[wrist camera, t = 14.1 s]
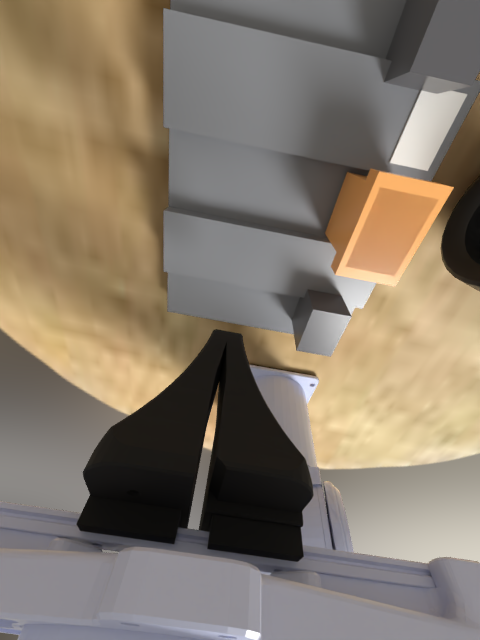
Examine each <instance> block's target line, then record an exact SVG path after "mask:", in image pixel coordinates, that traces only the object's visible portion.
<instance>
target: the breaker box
mask: <svg viewBox="0 0 480 640" xmlns="http://www.w3.org/2000/svg"><path fill="white" fill-rule="evenodd" d="M479 71H480V0H171V4H170V9H165V8H163V127H165V128H169V207H167V208H166V209H165V210H164V272H168V309H167V311H168V312H173V313H179V314H184V315H190V316H195V317H201V318H206V319H212V320H217V321H223V322H228V323H234V324H239V325H245V326H251V327H256V328H262V329H267V330H273V331H278V332H284V333H289V334H294V338H295V344H296V351H302V352H307V353H313V354H319V355H324V356H330V357H331V355H332V353H333V351H334V350H335V348H336V346H337V344H338V342H339V340H340V338H341V336H342V334H343V332H344V330H345V328H346V327H347V325H348V323H349V321H350V319H351V317H352V316H351V314H352V312H353V310H354V309H355V308H360V309H363V307H364V305H365V303H366V301H367V299H368V298H369V296H370V294H371V292H372V290H373V288H374V286H375V285H376V283H375V282H369V281H364V280H359V279H354V278H349V277H343V276H338V275H335V274H334V272H333V270H332V268H331V264H332V262H333V260H334V257H335V255H336V250H335V249H334V247H333V246H332V244H331V242H330V241H329V239H328V238H327V236H326V234H325V232H326V229H327V226H328V223H329V220H330V218H331V215H332V212H333V209H334V207H335V204H336V201H337V198H338V196H339V193H340V190H341V187H342V185H343V182H344V179H345V176H346V174H347V172H350V173H354V174H359V175H364V176H368V173H369V171H370V169H375V170H379V171H384V172H389V173H394V174H398V175H403V176H408V177H413V178H417V179H422V180H427V181H432V179H433V177H434V175H435V173H436V172H437V170H438V168H439V166H440V164H441V162H442V160H443V159H444V157H445V155H446V153H447V151H448V149H449V147H450V146H451V144H452V142H453V140H454V138H455V136H456V135H457V133H458V131H459V129H460V127H461V125H462V123H463V122H464V120H465V118H466V116H467V114H468V112H469V110H470V109H471V107H472V105H473V103H474V101H475V99H476V97H477V96H478V94H479V92H480V81H478V80H475V79H476V77H477V75H478V73H479Z"/></svg>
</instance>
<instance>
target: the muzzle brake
mask: <svg viewBox="0 0 480 640" xmlns="http://www.w3.org/2000/svg"><path fill="white" fill-rule="evenodd" d="M441 254H442V260H443V262H444V265H445V267H446V269H447V270H448V271H449V272H450V273H451V274H452V275H453V276H454V277H455V278H457V279H459V280H461V281H462V282H464V283H466V284H467V285H469V286H471V287H473V288H474V289H476V290H478V291H480V176H479V177H478V178H477V179H476V180H475V182H474V183H473V184H472V185H471V186H470V187H469V188H468V189H467V190H466V191H465V194H464V195H463V197H462V198H461V200H460V201H459V203H458V204H457V205H456V207H455V208H454V210H453V212H452V214H451V216H450V218H449V220H448V222H447V224H446V227H445V230H444V233H443V236H442V243H441Z"/></svg>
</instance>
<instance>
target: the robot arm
mask: <svg viewBox="0 0 480 640" xmlns="http://www.w3.org/2000/svg"><path fill="white" fill-rule="evenodd" d="M312 383H313V384H312ZM318 383H319V379H318V377H316V376H312V375H306V374H300V373H295V372H289V371H283V370H277V369H272V368H266V367H260V366H254V365H249V362H248V359H247V356H246V352H245V348H244V344H243V336H242V335H241V334H239V333H233V332H228V331H222V330H214V331H213V332H212V335H211V336H210V338H209V340H208V342H207V343H206V345H205V346H204V348H203V349H202V350H201V352H200V353H199V354H198V356H197V357H196V358H195V359H194V360H193V362H192V363H191V364H190V365H189V366H188V367H187V369H186V370H185V371H184V372H183V373H182V374H181V375H180V376H179V377H178V378H177V379H176V380H175V381H174V382H173V383H172V384H170V385H169V386H168V387H167V388H166V389H165V390H164V391H162V392H161V393H160V394H159V395H158V396H156V397H155V398H154V399H152V400H151V401H150V402H148V403H147V404H146V405H144V406H143V407H141V408H140V409H139V410H137V411H136V412H134V413H133V414H131V415H130V416H128V417H126V418H125V419H123V420H122V421H120V422H119V423H117V424H115V425H114V426H112V427H111V428H110V429H109V430H108V432H107V433H106V434H105V435H104V437H103V438H102V440H101V441H100V442H99V444H98V445H97V447H96V448H95V450H94V452H93V454H92V455H91V457H90V459H89V461H88V463H87V465H86V467H85V469H84V471H83V477H84V480H85V482H86V485H87V487H88V490H89V492H90V496H89V499H88V500H87V503H86V505H85V507H84V509H83V511H82V513H77V512H70V511H64V510H57V509H50V508H43V507H36V506H29V505H22V504H16V503H9V502H2V501H0V632H3V633H10V634H17V635H19V637H18V639H17V640H480V563H479V562H477V561H471V560H464V559H457V558H451V557H442V558H436V559H433V560H432V561H430V562H429V563H420V562H414V561H407V560H399V559H392V558H386V557H379V556H372V555H365V554H359V553H354V551H353V546H352V541H351V536H350V531H349V526H348V521H347V517H346V512H345V509H344V504H343V500H342V497H341V494H340V491H339V490H338V489H337V488H336V487H335V486H333V484H332V483H331V482H330V481H324V491H325V500H324V494H323V489H322V483H321V477H320V472H319V468H318V467H317V461H316V455H315V449H314V443H313V437H312V431H311V425H310V419H309V413H308V407H307V404H308V402H309V400H310V398H311V396H312V394H313V392H314V390H315V388H316V386H317V385H318ZM218 384H219V392H218V405H217V419H216V429H215V436H214V442H213V448H212V455H211V460H210V466H209V473H208V478H207V485H206V490H205V496H204V502H203V508H202V514H201V520H200V526H199V530H194V529H187V527H188V522H189V516H190V511H191V506H192V501H193V494H194V489H195V484H196V479H197V473H198V468H199V463H200V458H201V453H202V447H203V442H204V437H205V431H206V427H207V423H208V419H209V415H210V412H211V408H212V405H213V401H214V398H215V394H216V391H217V387H218ZM325 502H326V506H325ZM326 509H327V512H326ZM102 549H104V550H111V551H118V552H119V553H103V552H102Z"/></svg>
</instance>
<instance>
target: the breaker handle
mask: <svg viewBox="0 0 480 640" xmlns="http://www.w3.org/2000/svg"><path fill="white" fill-rule="evenodd" d="M453 188H454V187H451V186H448V185H444V184H441V183H436V182H432V181H427V180H422V179H417V178H413V177H408V176H403V175H398V174H394V173H389V172H384V171H379V170H375V169H370V171H369V173H368V176H364V175H359V174H354V173H350V172H347V174H346V176H345V179H344V182H343V185H342V187H341V190H340V193H339V196H338V198H337V201H336V204H335V207H334V209H333V212H332V215H331V218H330V220H329V223H328V226H327V229H326V232H325V234H326V236H327V238H328V239H329V241H330V242H331V244H332V246H333V247H334V249H335V250H336V255H335V257H334V260H333V262H332V264H331V268H332V270H333V272H334V274H335V275H338V276H343V277H349V278H354V279H359V280H364V281H369V282H375V283H380V284H385V285H390V286H396V284H397V283H398V281H399V279H400V277H401V276H402V274H403V272H404V271H405V269H406V267H407V266H408V264H409V262H410V261H411V259H412V257H413V256H414V254H415V252H416V250H417V249H418V247H419V245H420V244H421V242H422V240H423V239H424V237H425V235H426V234H427V232H428V230H429V229H430V227H431V225H432V223H433V222H434V220H435V218H436V217H437V215H438V213H439V212H440V210H441V208H442V207H443V205H444V203H445V202H446V200H447V198H448V196H449V195H450V193H451V191H452V190H453Z"/></svg>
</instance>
